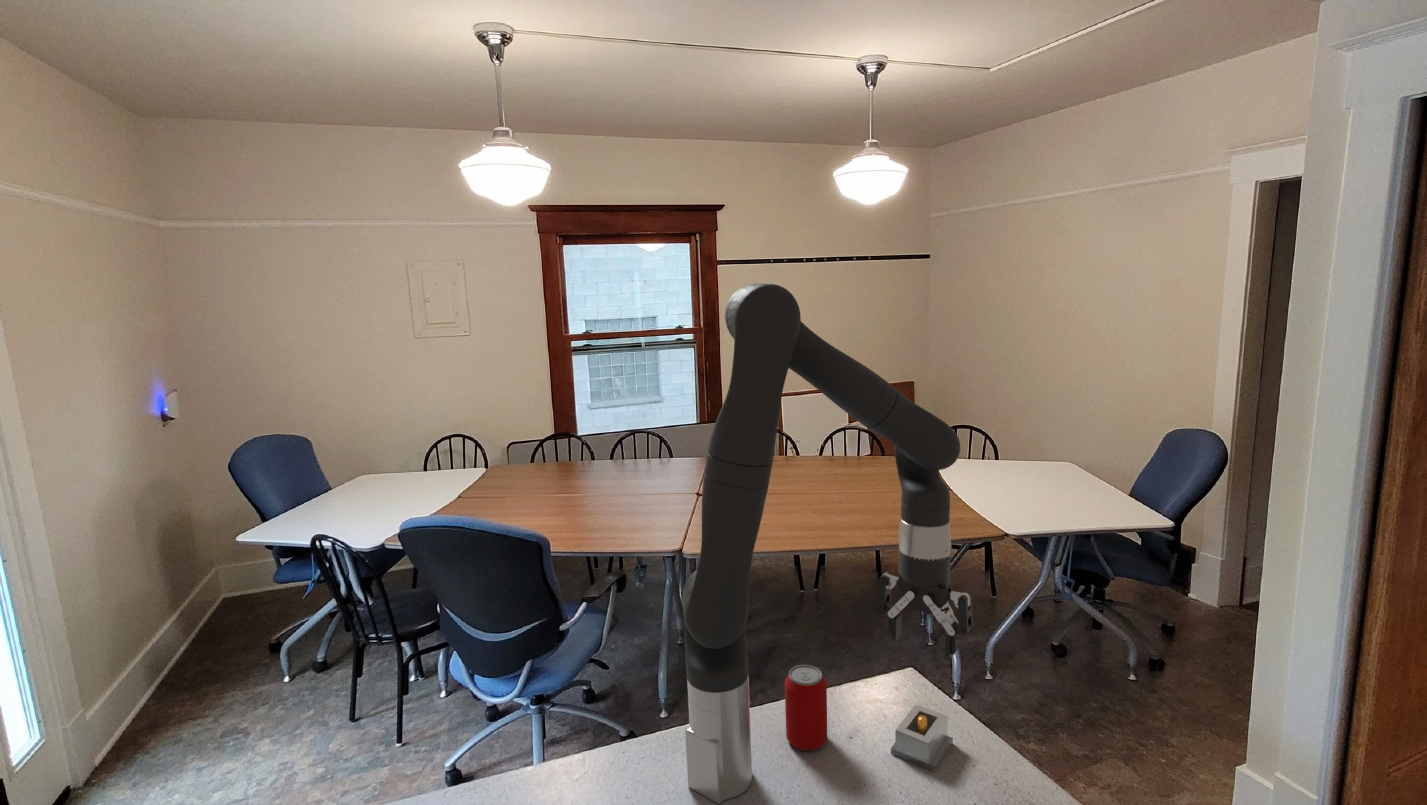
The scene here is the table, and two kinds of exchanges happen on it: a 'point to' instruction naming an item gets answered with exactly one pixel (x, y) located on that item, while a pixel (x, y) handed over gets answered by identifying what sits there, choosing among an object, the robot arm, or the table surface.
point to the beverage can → (806, 707)
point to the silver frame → (917, 743)
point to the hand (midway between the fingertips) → (922, 646)
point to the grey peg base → (937, 757)
